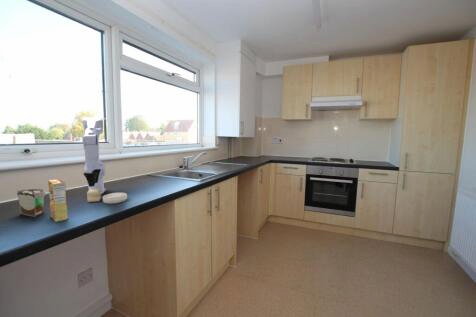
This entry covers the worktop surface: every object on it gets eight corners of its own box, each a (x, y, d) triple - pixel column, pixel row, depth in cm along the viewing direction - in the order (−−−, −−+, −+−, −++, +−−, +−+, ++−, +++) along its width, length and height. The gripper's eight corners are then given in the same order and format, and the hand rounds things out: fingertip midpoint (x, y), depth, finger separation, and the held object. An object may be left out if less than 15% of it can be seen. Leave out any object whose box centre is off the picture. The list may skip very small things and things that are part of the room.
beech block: (89, 199, 117) (89, 190, 116) (101, 198, 119) (100, 189, 118) (87, 202, 112) (86, 192, 112) (99, 201, 114) (98, 191, 114)
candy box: (50, 216, 93) (47, 180, 91) (63, 213, 96) (60, 178, 94) (55, 222, 87) (52, 183, 85) (68, 219, 90) (65, 182, 88)
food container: (54, 212, 97) (52, 190, 96) (37, 217, 92) (35, 193, 91) (35, 208, 101) (33, 187, 100) (18, 213, 96) (16, 190, 94)
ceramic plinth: (104, 198, 119) (104, 193, 118) (127, 196, 123) (127, 191, 122) (101, 204, 109) (100, 199, 108) (126, 202, 113) (126, 197, 112)
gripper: (98, 159, 108) (99, 187, 109) (103, 156, 121) (104, 181, 123) (80, 160, 105) (82, 188, 107) (88, 157, 119) (89, 182, 120)
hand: (93, 184), depth 115 cm, fingers open, 7 cm apart
